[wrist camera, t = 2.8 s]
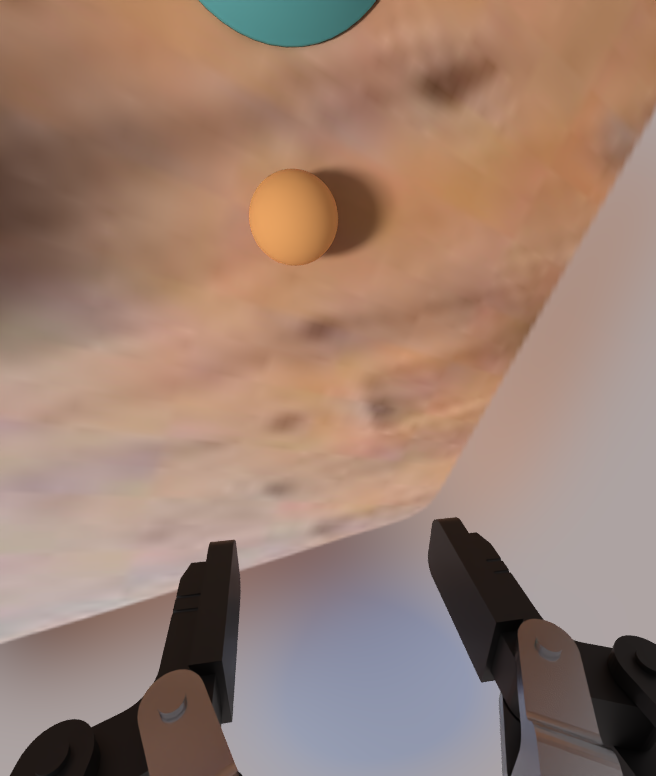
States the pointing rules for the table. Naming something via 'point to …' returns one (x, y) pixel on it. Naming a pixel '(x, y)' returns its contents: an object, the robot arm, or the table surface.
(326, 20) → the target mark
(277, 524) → the table surface
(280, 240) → the ball
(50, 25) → the table surface
